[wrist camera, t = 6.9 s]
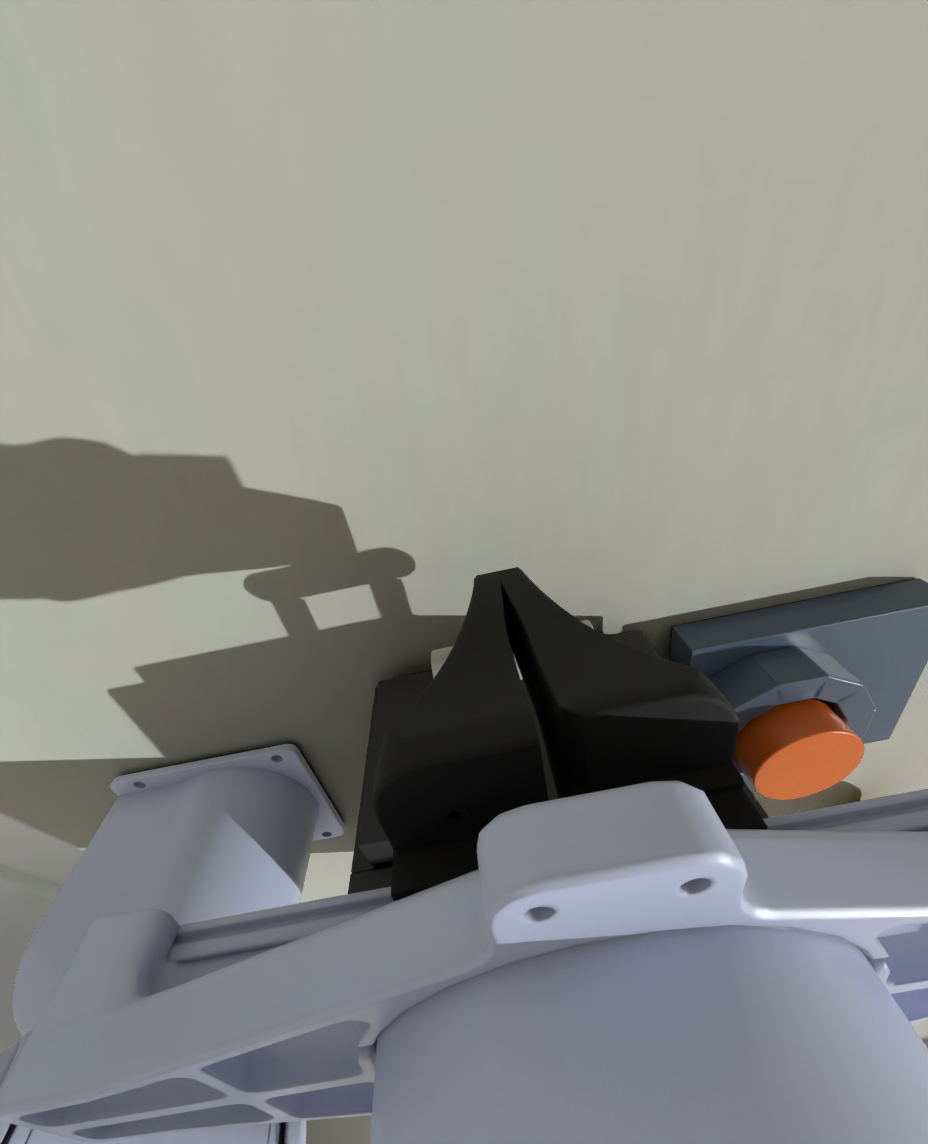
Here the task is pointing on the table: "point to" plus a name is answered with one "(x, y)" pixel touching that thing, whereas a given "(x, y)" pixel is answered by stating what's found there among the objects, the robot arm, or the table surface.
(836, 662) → the panel
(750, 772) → the button
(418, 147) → the table surface
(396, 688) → the drawer
